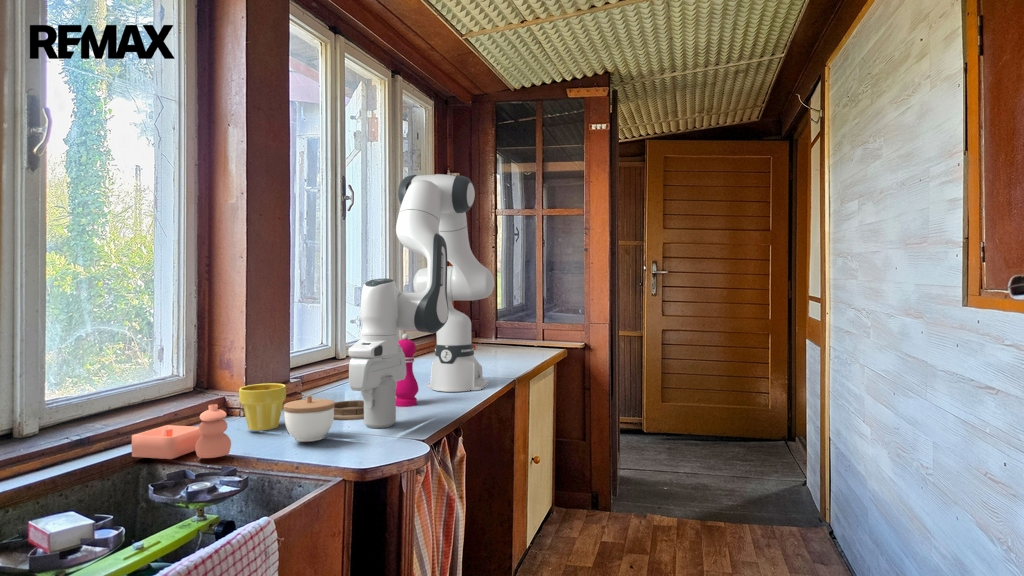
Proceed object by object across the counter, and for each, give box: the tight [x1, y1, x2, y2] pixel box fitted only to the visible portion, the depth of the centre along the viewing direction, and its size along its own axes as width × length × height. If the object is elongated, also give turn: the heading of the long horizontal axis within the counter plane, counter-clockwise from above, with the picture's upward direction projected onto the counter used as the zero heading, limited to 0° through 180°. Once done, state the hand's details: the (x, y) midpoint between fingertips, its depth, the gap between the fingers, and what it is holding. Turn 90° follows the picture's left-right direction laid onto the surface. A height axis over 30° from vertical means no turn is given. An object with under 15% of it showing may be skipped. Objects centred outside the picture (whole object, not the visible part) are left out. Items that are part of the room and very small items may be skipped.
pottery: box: [131, 404, 232, 460], centre depth 128 cm, size 18×10×10 cm, turn 78°
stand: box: [333, 399, 364, 421], centre depth 165 cm, size 14×14×2 cm
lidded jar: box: [283, 395, 335, 443], centre depth 139 cm, size 11×11×9 cm
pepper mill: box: [396, 333, 419, 408], centre depth 177 cm, size 7×7×20 cm
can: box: [363, 375, 397, 429], centre depth 151 cm, size 8×8×12 cm
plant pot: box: [238, 382, 287, 432], centre depth 149 cm, size 10×10×10 cm
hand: (379, 404), depth 151 cm, fingers closed on can, 7 cm apart
